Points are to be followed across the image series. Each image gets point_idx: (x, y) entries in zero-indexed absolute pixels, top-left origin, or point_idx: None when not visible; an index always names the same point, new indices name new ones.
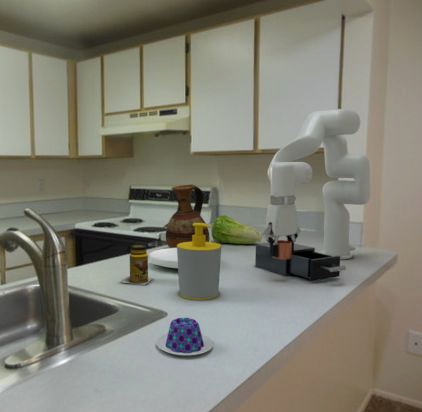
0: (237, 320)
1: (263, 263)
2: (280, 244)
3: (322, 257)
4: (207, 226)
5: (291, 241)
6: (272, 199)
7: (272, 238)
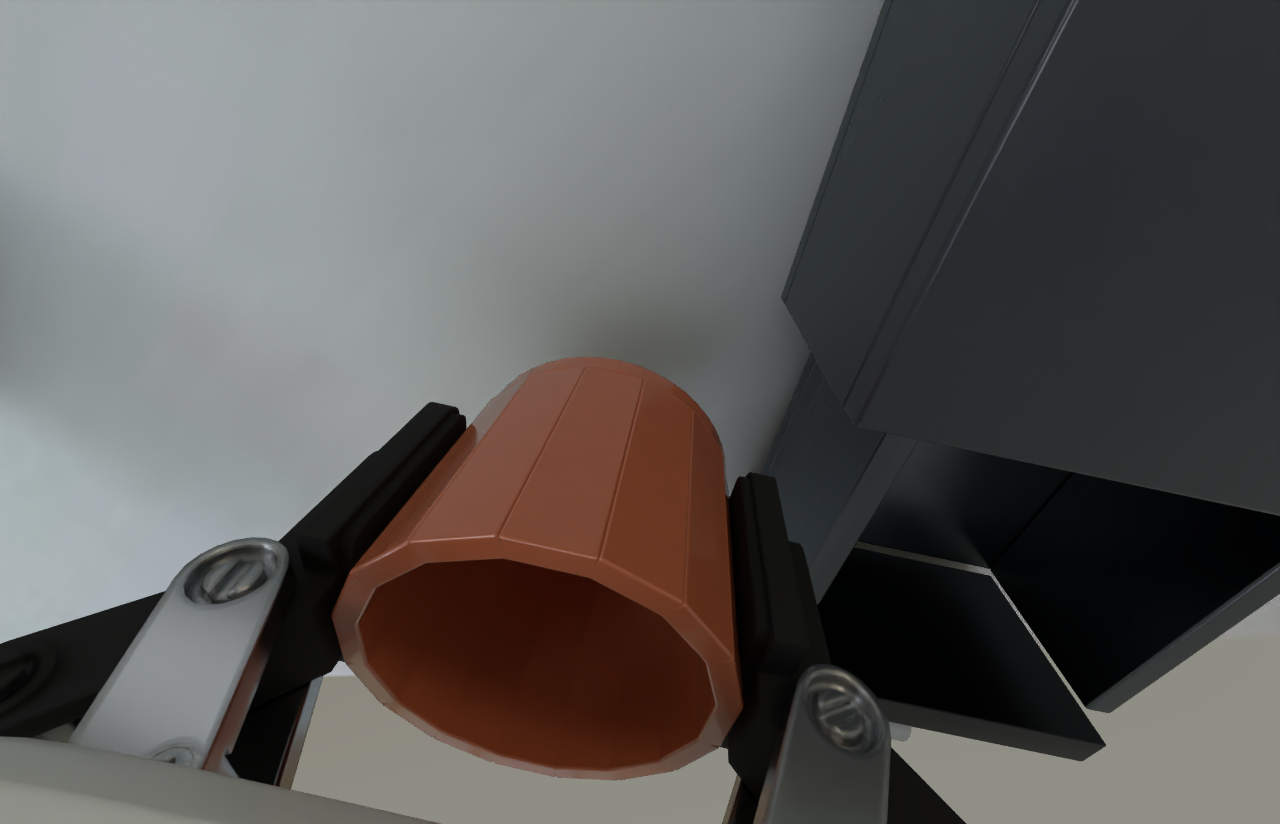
0: (29, 554)
1: None
2: (397, 694)
3: (1132, 612)
4: None
5: (740, 752)
6: None
7: (217, 701)
